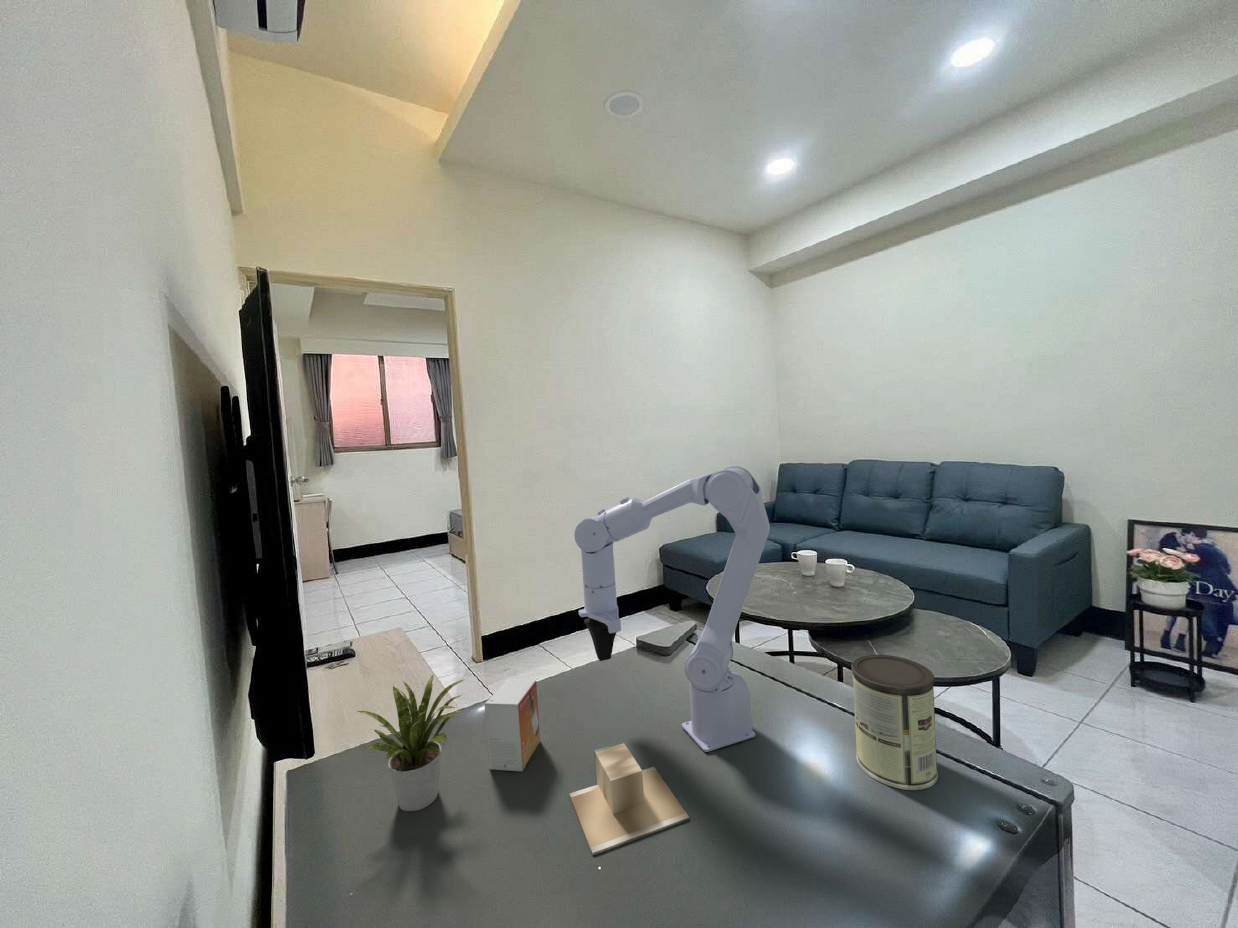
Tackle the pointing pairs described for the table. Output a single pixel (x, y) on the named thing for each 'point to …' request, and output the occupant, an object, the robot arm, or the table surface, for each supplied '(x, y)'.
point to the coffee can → (895, 721)
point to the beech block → (619, 777)
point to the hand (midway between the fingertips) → (604, 658)
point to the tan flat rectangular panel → (627, 814)
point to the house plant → (415, 747)
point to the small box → (512, 725)
